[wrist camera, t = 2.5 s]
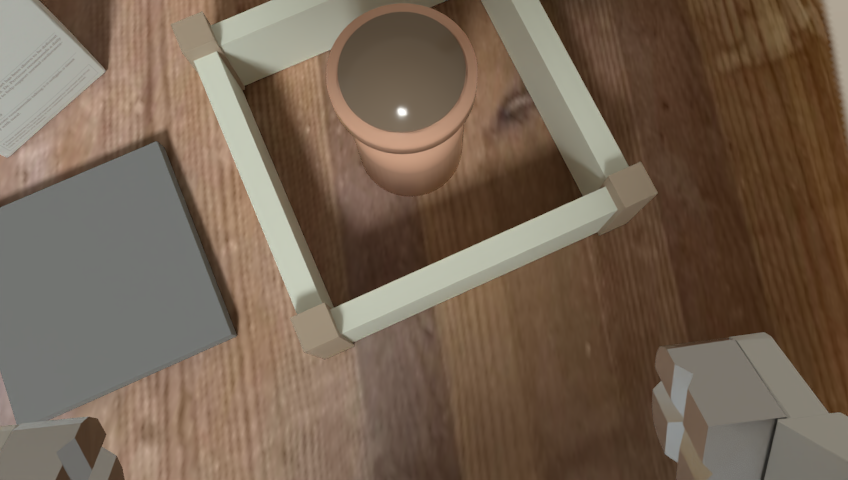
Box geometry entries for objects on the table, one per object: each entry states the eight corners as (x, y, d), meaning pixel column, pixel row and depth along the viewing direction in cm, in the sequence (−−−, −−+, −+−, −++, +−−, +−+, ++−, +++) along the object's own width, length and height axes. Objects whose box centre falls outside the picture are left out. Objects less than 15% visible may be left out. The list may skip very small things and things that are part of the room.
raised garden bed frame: (626, 223, 37) (658, 193, 32) (325, 359, 36) (303, 352, 30) (486, -42, 40) (493, -109, 35) (208, 75, 39) (170, 24, 34)
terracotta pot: (489, 174, 38) (503, 105, 29) (380, 222, 37) (361, 167, 28) (439, 75, 39) (439, -22, 30) (334, 120, 39) (301, 35, 30)
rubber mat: (237, 336, 36) (231, 334, 35) (29, 428, 35) (18, 429, 35) (164, 147, 38) (156, 141, 38) (-32, 230, 38) (-45, 226, 37)
